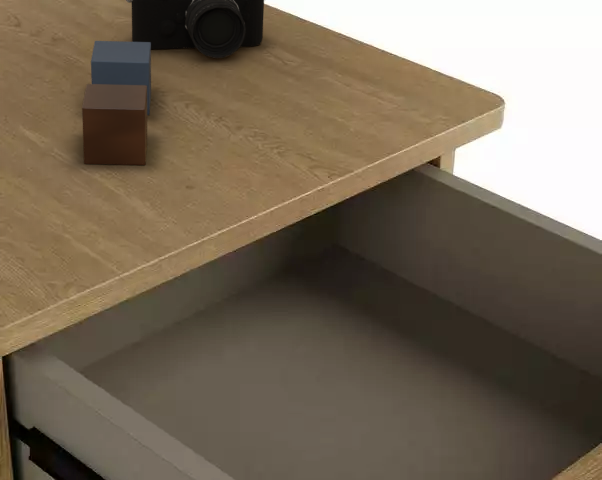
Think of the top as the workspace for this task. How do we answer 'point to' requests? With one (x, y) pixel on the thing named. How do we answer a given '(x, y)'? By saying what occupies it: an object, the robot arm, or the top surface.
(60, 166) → the top surface
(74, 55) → the top surface
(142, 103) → the walnut block
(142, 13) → the camera
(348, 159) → the top surface
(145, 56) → the slate block
